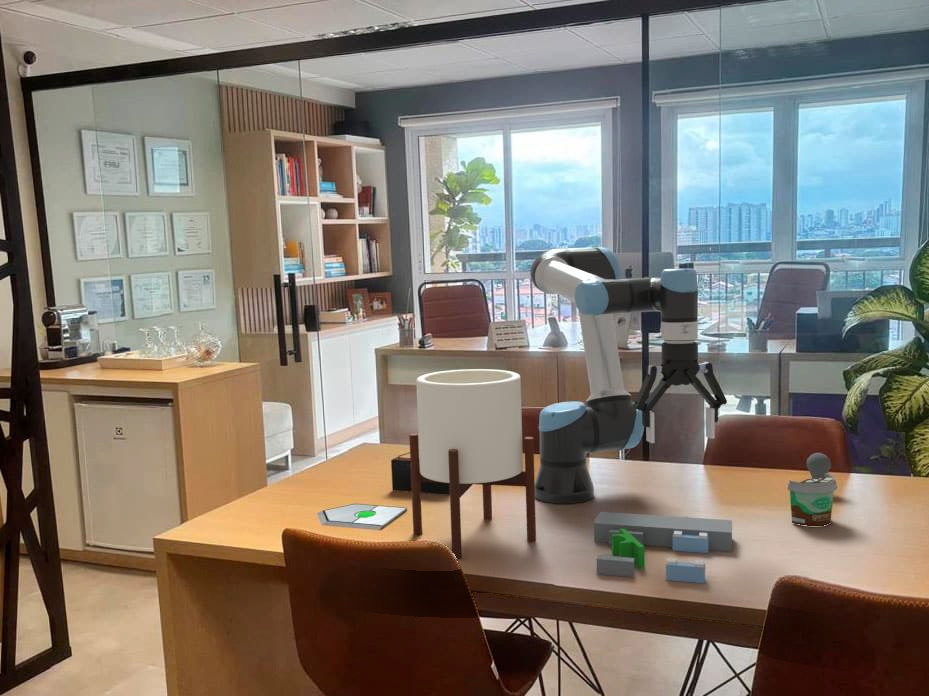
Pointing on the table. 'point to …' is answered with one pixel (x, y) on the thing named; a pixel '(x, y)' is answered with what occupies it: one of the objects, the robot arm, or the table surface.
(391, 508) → the grey pentagonal plate
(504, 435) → the plant pot with stand
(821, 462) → the light bulb
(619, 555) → the pipe clamp
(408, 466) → the radio
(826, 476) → the food container
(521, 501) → the table surface
